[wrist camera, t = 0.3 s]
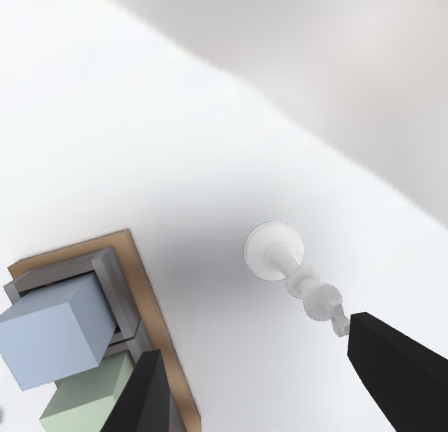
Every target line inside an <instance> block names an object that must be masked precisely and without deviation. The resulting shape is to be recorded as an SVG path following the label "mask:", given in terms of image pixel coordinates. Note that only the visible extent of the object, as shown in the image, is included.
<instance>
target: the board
mask: <svg viewBox="0 0 448 432" xmlns="http://www.w3.org/2000/svg"><path fill="white" fill-rule="evenodd" d="M7 268H8V270H9V272H10V274H11V276H12V278H13V279H14V280H13V281H11V282H10V283H8V284H6V285H5V286H3V288H4V290H5V292H6V294H7V295H8V297H9V299H10V301H11V303H12V305H14V304H15V303H16V302H17V301H19V300H20V299H21V298H22V297H24V296H25V295H26V294H28V293H29V292H30V291H33V290H36V289H39V288H43V287H46V286H49V285H53V284H56V283H59V282H62V281H66V280H69V279H72V278H76V277H79V276H82V275H86V274H89V273H92V272H95V274H96V276H97V279H98V281H99V283H100V286H101V288H102V290H103V292H104V295H105V297H106V299H107V302H108V304H109V306H110V309H111V311H112V313H113V316H114V318H115V320H116V322H117V327H116V329H115V331H114V333H113V335H112V338H111V340H110V342H109V344H108V347H107V349H106V351H105V353H104V355H103V357H106V356H109V355H112V354H116V353H119V352H122V351H125V350H129V352H130V355H131V357H132V359H133V362H134V364H135V366H136V364H137V362H138V359H139V357H140V355H141V354H142V353H143V352H147V351H152V350H158V349H161V353H162V357H163V362H164V366H165V370H166V375H167V379H168V383H169V388H170V417H169V432H202V431H201V418H200V415H199V413H198V410H197V407H196V405H195V402H194V399H193V397H192V394H191V391H190V389H189V386H188V384H187V381H186V378H185V376H184V373H183V370H182V368H181V365H180V362H179V360H178V357H177V354H176V352H175V349H174V347H173V344H172V341H171V339H170V336H169V333H168V331H167V328H166V325H165V323H164V320H163V318H162V315H161V312H160V310H159V307H158V304H157V302H156V299H155V296H154V294H153V291H152V289H151V286H150V283H149V281H148V278H147V275H146V273H145V270H144V267H143V265H142V262H141V259H140V257H139V254H138V252H137V249H136V246H135V244H134V241H133V238H132V236H131V233H130V230H129V229H126V230H123V231H119V232H116V233H112V234H109V235H106V236H102V237H99V238H95V239H92V240H88V241H85V242H82V243H78V244H75V245H71V246H68V247H64V248H61V249H58V250H54V251H51V252H47V253H44V254H40V255H37V256H34V257H30V258H27V259H23V260H20V261H18V262H16V263H14V264H12V265H11V266H9V267H7ZM62 380H63V378H61V379H58V380H55V381H54V382H55V384H56V386H57V388H58V387H59V385H60V384H61V382H62Z"/></svg>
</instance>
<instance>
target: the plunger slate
mask: <svg viewBox="0 0 448 432" xmlns="http://www.w3.org/2000/svg"><path fill="white" fill-rule="evenodd" d="M116 327H117V322H116V320H115V318H114V316H113V313H112V311H111V309H110V306H109V304H108V302H107V299H106V297H105V295H104V292H103V290H102V288H101V286H100V283H99V281H98V279H97V276H96V274H95V272H92V273H89V274H86V275H82V276H79V277H76V278H72V279H69V280H66V281H62V282H59V283H56V284H53V285H49V286H46V287H43V288H39V289H36V290H33V291H30V292H29V293H28V294H26V295H25V296H24V297H22V298H21V299H20V300H19V301H17V302H16V303H15V304H14V305H12V306H11V307H10V308H9V309H7V310H6V311H5V312H4V313H2V314H1V315H0V354H1V356H2V358H3V359H4V361H5V363H6V365H7V366H8V368H9V370H10V371H11V373H12V375H13V376H14V378H15V380H16V382H17V383H18V385H19V387H20V388H21V390H22V391H25V390H28V389H31V388H34V387H37V386H40V385H43V384H46V383H49V382H52V381H55V380H58V379H61V378H64V377H67V376H70V375H73V374H76V373H80V372H83V371H86V370H89V369H92V368H95V367H98V366H99V364H100V362H101V360H102V358H103V355H104V353H105V351H106V349H107V347H108V344H109V342H110V340H111V338H112V335H113V333H114V331H115V329H116Z"/></svg>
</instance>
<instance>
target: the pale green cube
mask: <svg viewBox="0 0 448 432" xmlns="http://www.w3.org/2000/svg"><path fill="white" fill-rule="evenodd" d="M134 368H135V364H134V362H133V359H132V357H131V355H130V352H129V350H125V351H122V352H119V353H116V354H112V355H109V356H106V357H103V358H102V360H101V362H100V364H99V366H98V367H95V368H92V369H89V370H86V371H83V372H80V373H76V374H73V375H70V376H67V377H64V378H63V380H62V382H61V384H60V385H59V387H58V389H57V390H56V392H55V394H54V395H53V397H52V399H51V400H50V402H49V404H48V406H47V407H46V409H45V411H44V412H43V414H42V416H41V417H40V419H39V421H40V422H41V424H42V426H43V428H44V429H45V431H46V432H100V430H101V428H102V427H103V425H104V423H105V421H106V420H107V418H108V416H109V414H110V412H111V411H112V409H113V407H114V405H115V404H116V402H117V400H118V398H119V396H120V395H121V393H122V391H123V389H124V387H125V385H126V383H127V381H128V379H129V378H130V376H131V374H132V372H133V370H134Z"/></svg>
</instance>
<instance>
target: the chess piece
mask: <svg viewBox="0 0 448 432" xmlns="http://www.w3.org/2000/svg"><path fill="white" fill-rule="evenodd" d="M303 254H304V245H303V241H302V239H301V237H300V235H299V234H298V233H297V232H296V230H295V229H294V228H293V227H291V226H290V225H288V224H286V223H283V222H279V221H272V222H267V223H264V224H262V225H260V226H258V227H257V228H255V229H254V230H253V231H252V232H251V233H250V235H249V236H248V238H247V240H246V242H245V245H244V260H245V263H246V265H247V266H248V268H249V269H250V270H251V271H252V272H253V273H254V274H255V275H256V276H258V277H259V278H261V279H264V280H268V281H277V280H281V279H284V278H286V277H287V278H286V288H287V291H288V292H289V293H290V294H291V295H292V296H294V297H296V298H299V299H302V300H303V306H304V309H305V312H306V313H307V315H308V316H309V317H310V318H311V319H313V320H316V321H327V320H329V319H331V320H332V325H333V330H334V332H335V333H336V334H337V335H338V337H342V336H344V335H348V334H349V329H350V320H349V319H348V318H347V317H345V316H344V313H343V308H342V296H341V293H340V292H339V290H338V289H337V288H335V287H334V286H332V285H329V284H326V283H321V282H320V276H319V274H318V272H317V270H316V269H315V268H313V267H312V266H309V265H300V263H301V261H302V259H303ZM299 265H300V266H299Z"/></svg>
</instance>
